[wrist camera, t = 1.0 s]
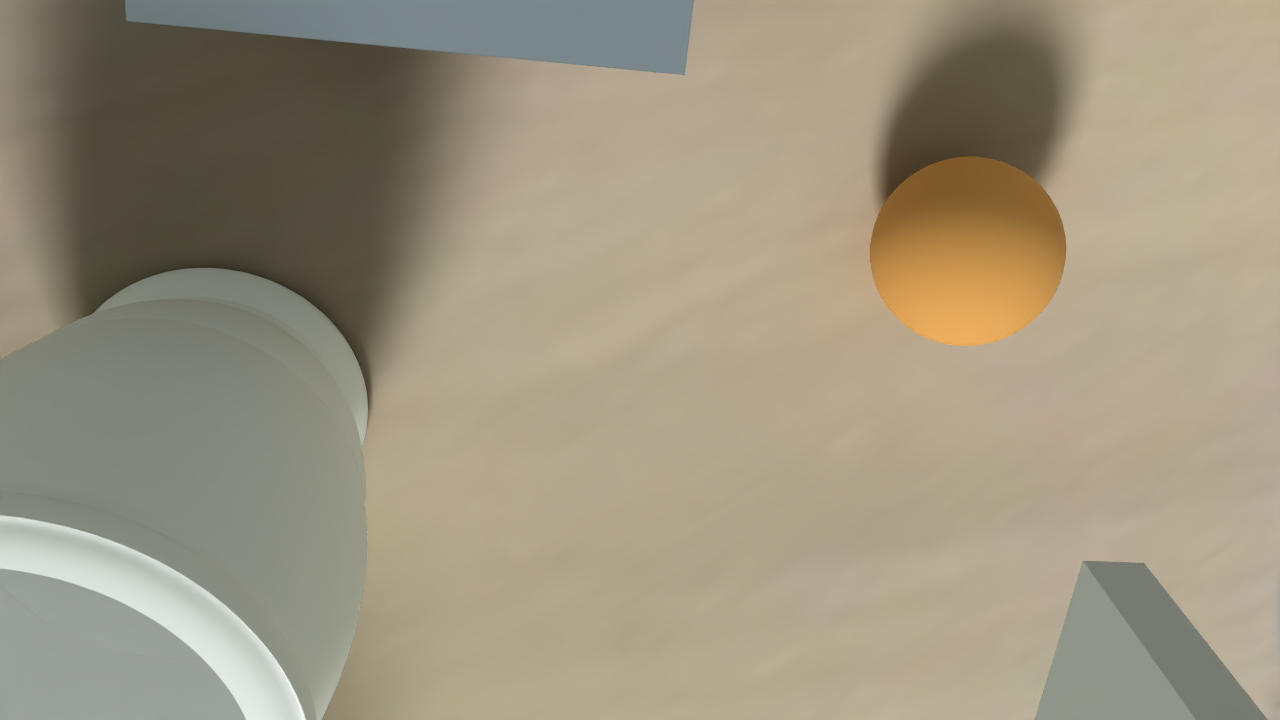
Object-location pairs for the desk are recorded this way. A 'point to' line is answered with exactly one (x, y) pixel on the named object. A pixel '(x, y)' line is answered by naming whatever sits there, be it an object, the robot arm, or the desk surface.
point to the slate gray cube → (460, 26)
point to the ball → (968, 251)
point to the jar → (181, 507)
